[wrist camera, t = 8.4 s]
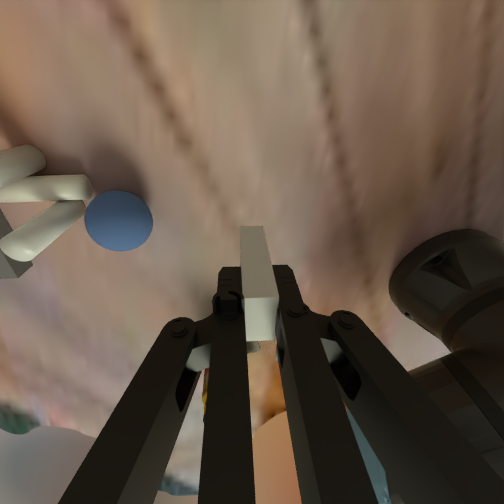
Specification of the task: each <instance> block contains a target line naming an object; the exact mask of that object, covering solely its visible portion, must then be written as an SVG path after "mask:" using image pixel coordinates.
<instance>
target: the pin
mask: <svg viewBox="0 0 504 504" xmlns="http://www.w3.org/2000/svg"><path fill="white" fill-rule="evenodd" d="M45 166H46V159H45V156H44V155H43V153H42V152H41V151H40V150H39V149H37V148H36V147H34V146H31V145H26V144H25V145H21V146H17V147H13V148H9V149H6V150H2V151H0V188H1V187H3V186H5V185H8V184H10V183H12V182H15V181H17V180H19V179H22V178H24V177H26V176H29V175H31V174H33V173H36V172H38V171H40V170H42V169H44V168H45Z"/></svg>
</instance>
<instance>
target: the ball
mask: <svg viewBox="0 0 504 504" xmlns="http://www.w3.org/2000/svg"><path fill="white" fill-rule="evenodd" d="M84 221H85V227H86V230H87V232H88V234H89V235H90V237H91V238H92V239H93V240H94V241H95V242H96V243H97V244H99V245H100V246H102V247H104V248H106V249H109V250H113V251H128V250H132V249H135V248H137V247H139V246H140V245H142V244H143V243H144V242H145V241H146V240H147V239H148V237H149V236H150V233H151V231H152V227H153V219H152V214H151V212H150V209H149V208H148V206H147V205H146V204H145V202H144V201H143V200H141V199H140V198H139V197H137V196H136V195H134V194H132V193H129V192H125V191H108V192H105V193H102V194H100V195H98V196H97V197H95V198H94V199H93V200H92V201H91V202H90V204H89V205H88V207H87V209H86V212H85V217H84Z"/></svg>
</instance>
